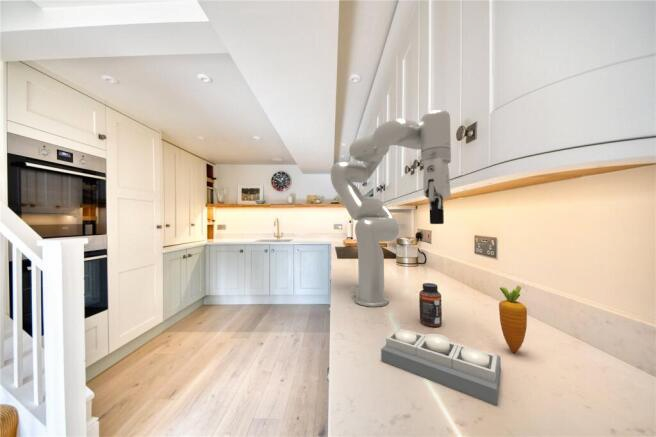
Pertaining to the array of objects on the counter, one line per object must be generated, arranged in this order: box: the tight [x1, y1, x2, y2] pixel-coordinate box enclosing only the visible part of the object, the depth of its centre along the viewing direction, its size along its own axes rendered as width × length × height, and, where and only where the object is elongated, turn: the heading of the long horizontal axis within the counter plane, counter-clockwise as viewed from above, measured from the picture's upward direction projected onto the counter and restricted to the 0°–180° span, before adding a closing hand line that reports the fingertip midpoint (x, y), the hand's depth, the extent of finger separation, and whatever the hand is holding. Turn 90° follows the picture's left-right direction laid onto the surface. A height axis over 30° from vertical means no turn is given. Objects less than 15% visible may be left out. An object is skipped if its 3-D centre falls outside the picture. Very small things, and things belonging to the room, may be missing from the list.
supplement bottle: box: [418, 282, 443, 328], centre depth 68 cm, size 6×6×11 cm
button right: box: [461, 346, 489, 369], centre depth 44 cm, size 4×4×2 cm
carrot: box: [498, 285, 528, 354], centre depth 53 cm, size 5×5×15 cm
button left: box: [395, 328, 417, 345], centre depth 52 cm, size 4×4×2 cm
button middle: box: [425, 333, 450, 355], centre depth 48 cm, size 4×4×2 cm
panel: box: [380, 327, 502, 406], centre depth 48 cm, size 20×12×4 cm, turn 51°
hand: (436, 223), depth 65 cm, fingers closed
